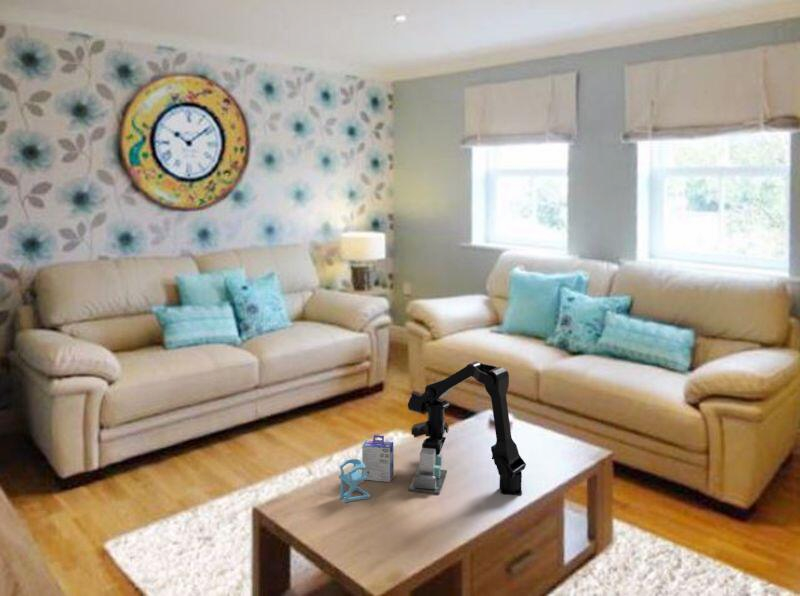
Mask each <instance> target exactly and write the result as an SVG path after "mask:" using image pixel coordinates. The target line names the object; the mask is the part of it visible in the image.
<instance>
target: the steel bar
mask: <svg viewBox="0 0 800 596" xmlns="http://www.w3.org/2000/svg"><path fill="white" fill-rule="evenodd" d="M435 458H436V449H430V448H422V447H421V450H420V452H419V465H420V475H428V476H435Z"/></svg>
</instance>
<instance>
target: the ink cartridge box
mask: <svg viewBox="0 0 800 596" xmlns="http://www.w3.org/2000/svg"><path fill="white" fill-rule="evenodd" d="M377 438H380V439H377ZM361 451H362V452H361V455H362V457H361V458H362V460H361V461H362V462H363V463H364V465H365V466H366V467H365V471H364V475H365V476H366V477H367V480H366V481H373V482H384V483H385V482H386V483H388V482H389V483H390V482H391V481H392V479H393V478H394V477H395V474H394V473H395V470H394V468H395V467H394V465H395V464H394V460H395V459H394V453H395V452H394V451H395V449H394V442H393V441H385V435H379V434H378V435H376V434H374V435H373V438H372V440H365V442H364V443H363V444H362V447H361Z"/></svg>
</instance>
